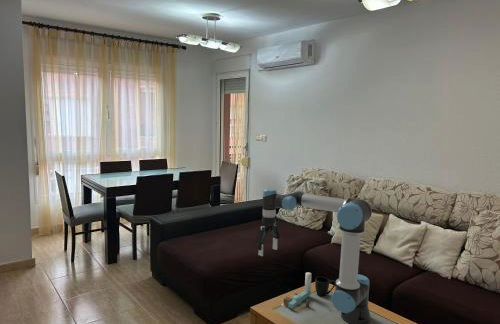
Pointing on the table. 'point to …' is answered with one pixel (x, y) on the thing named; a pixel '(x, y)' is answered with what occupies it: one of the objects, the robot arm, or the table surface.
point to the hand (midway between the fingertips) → (267, 252)
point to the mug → (323, 286)
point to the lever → (303, 295)
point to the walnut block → (287, 301)
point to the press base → (301, 306)
